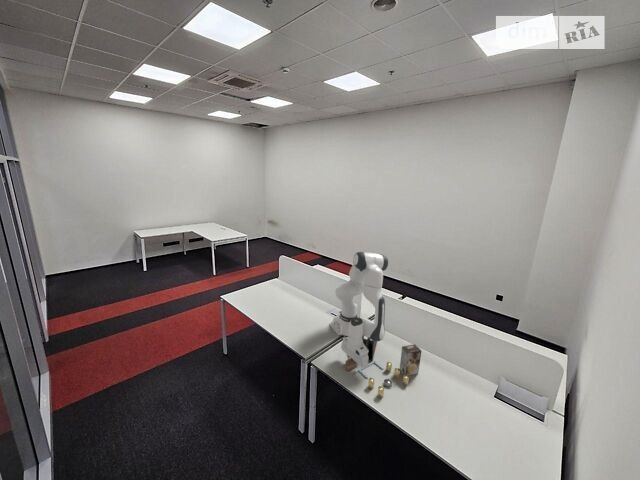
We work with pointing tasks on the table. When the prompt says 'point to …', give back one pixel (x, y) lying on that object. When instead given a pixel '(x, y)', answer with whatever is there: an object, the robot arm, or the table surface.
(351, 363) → the brown flat block
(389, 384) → the silver dome knob
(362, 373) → the bay
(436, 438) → the table surface
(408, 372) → the coffee box
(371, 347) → the letter holder
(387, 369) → the spacers
